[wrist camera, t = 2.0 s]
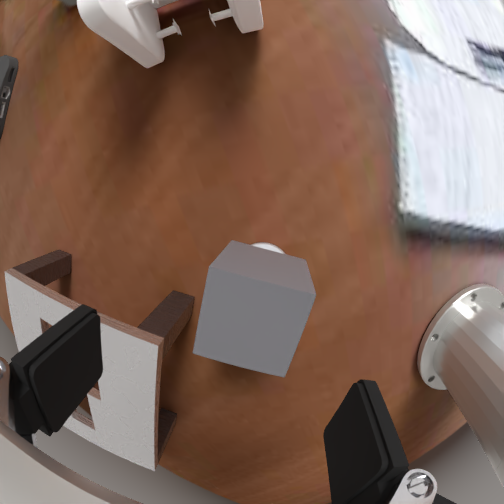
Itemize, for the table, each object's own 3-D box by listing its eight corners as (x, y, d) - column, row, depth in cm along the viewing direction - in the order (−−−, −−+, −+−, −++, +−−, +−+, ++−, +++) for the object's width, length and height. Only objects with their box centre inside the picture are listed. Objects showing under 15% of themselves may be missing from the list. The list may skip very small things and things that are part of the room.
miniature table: (194, 296, 23) (158, 345, 16) (175, 422, 28) (154, 471, 20) (58, 249, 24) (4, 271, 16) (69, 374, 29) (37, 407, 21)
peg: (301, 247, 21) (316, 294, 12) (284, 304, 23) (284, 377, 14) (239, 231, 22) (209, 266, 12) (225, 289, 23) (192, 353, 14)
